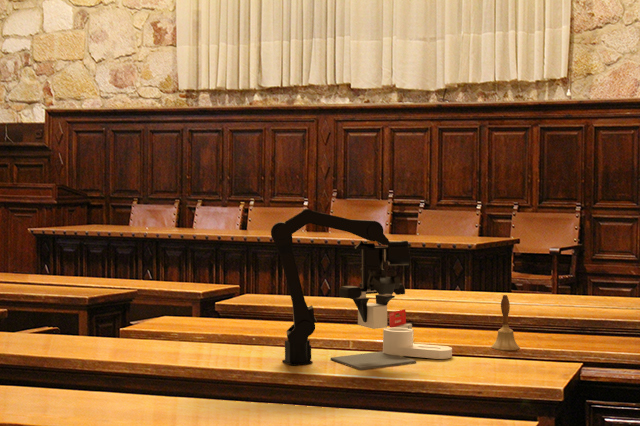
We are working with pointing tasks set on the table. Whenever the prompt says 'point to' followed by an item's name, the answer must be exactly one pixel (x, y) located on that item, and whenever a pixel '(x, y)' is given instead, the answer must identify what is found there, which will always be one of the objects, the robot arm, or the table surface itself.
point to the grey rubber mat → (372, 360)
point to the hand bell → (505, 330)
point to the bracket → (411, 345)
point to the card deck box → (374, 316)
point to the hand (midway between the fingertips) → (372, 321)
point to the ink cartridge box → (398, 320)
